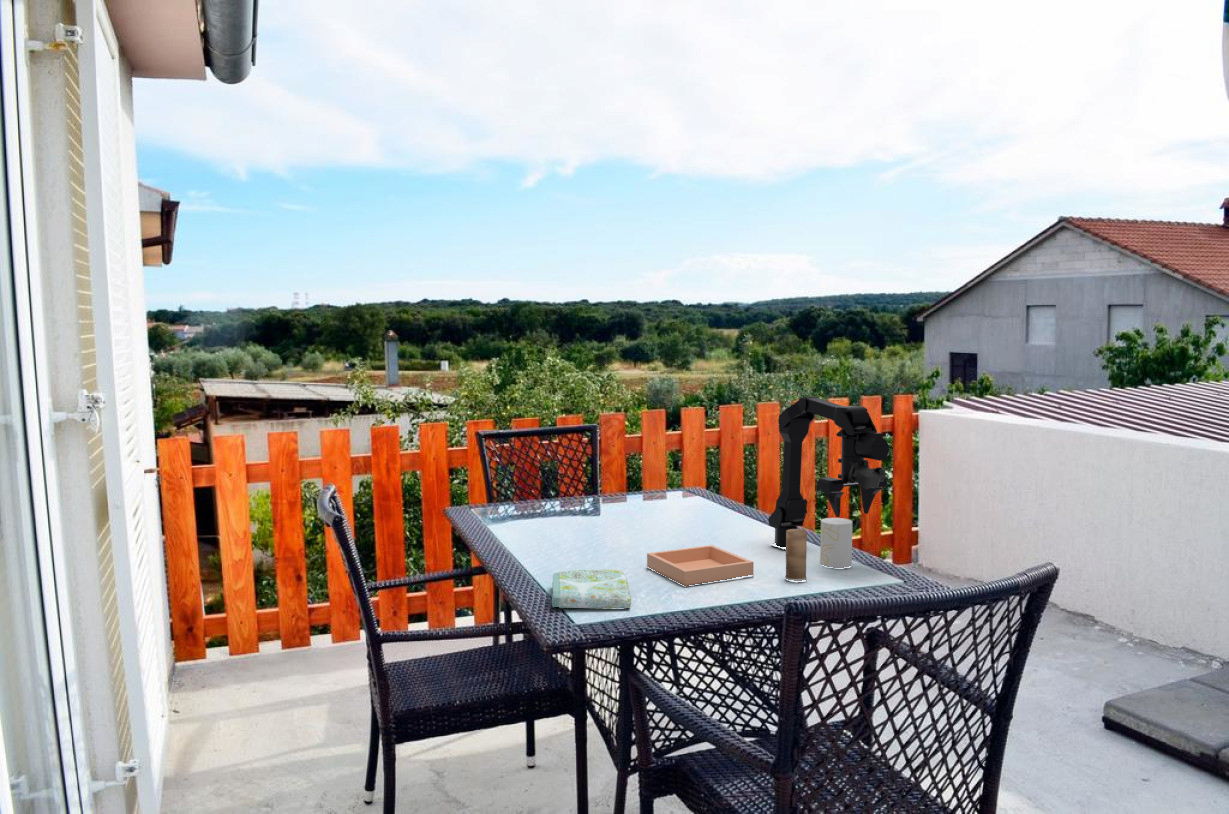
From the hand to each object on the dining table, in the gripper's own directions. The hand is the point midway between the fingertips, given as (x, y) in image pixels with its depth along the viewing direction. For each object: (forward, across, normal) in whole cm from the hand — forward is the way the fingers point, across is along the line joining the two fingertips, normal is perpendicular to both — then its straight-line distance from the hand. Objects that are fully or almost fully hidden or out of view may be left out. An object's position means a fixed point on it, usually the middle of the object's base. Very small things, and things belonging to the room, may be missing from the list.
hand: (851, 515), depth 242 cm
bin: (+15, -36, +16) cm, 42 cm away
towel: (+15, -70, +9) cm, 72 cm away
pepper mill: (+15, -18, -1) cm, 23 cm away
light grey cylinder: (+15, 0, +6) cm, 16 cm away
